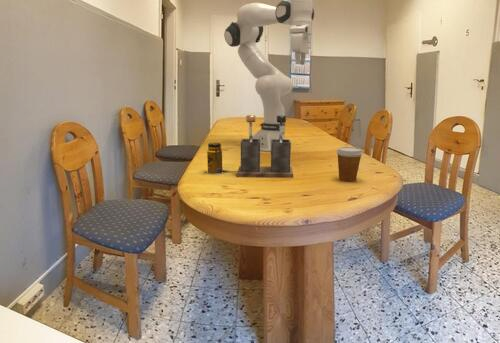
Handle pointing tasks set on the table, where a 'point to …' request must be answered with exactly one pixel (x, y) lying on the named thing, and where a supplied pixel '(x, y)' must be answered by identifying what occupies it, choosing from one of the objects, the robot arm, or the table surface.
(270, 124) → the robot arm
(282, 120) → the plunger right
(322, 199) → the table surface
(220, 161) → the condiment
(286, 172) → the stand
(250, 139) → the plunger left
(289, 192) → the table surface
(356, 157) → the disposable coffee cup
